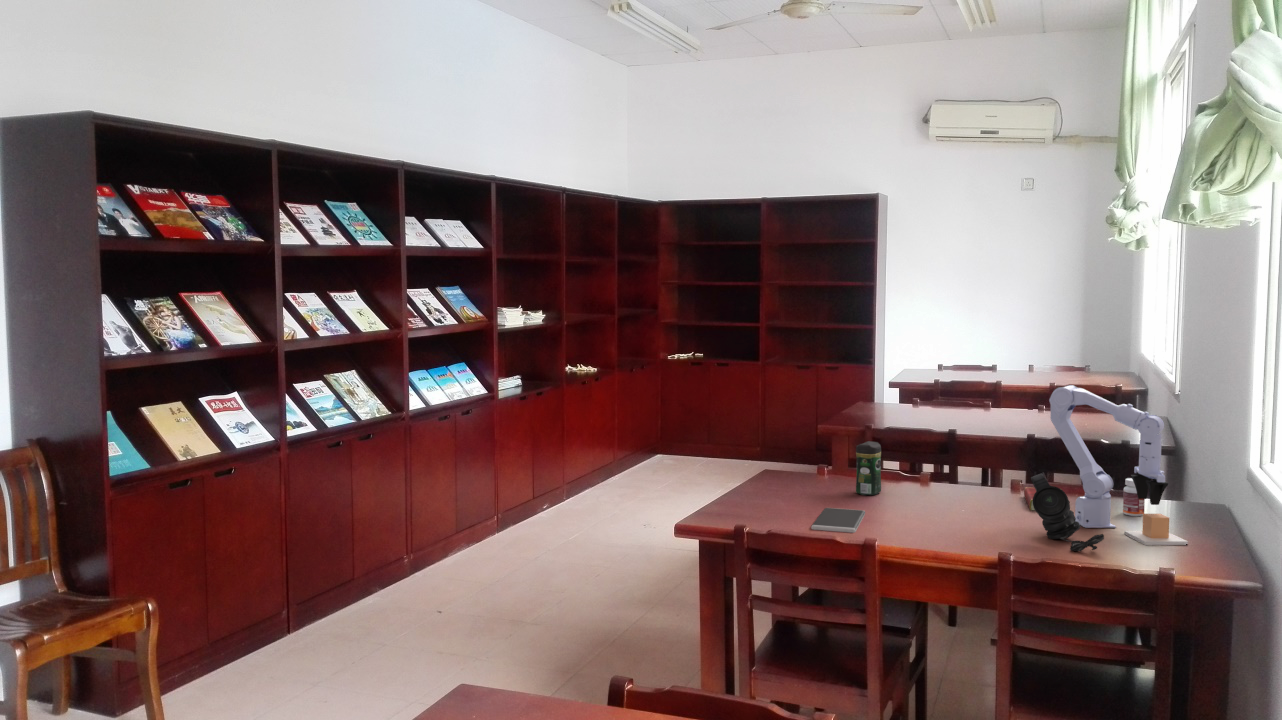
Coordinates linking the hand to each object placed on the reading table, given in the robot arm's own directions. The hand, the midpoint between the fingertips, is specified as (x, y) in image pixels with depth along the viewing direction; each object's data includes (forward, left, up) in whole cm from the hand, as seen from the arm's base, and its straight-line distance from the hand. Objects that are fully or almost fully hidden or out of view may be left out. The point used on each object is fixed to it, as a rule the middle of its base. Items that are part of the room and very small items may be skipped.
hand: (1148, 501), depth 282 cm
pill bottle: (+7, +23, -10) cm, 26 cm away
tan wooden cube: (-2, -8, -8) cm, 12 cm away
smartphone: (-89, +15, -10) cm, 91 cm away
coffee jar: (-71, +56, -10) cm, 91 cm away
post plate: (-2, -8, -9) cm, 12 cm away
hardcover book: (-15, +38, -10) cm, 42 cm away
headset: (-28, -9, -10) cm, 31 cm away
